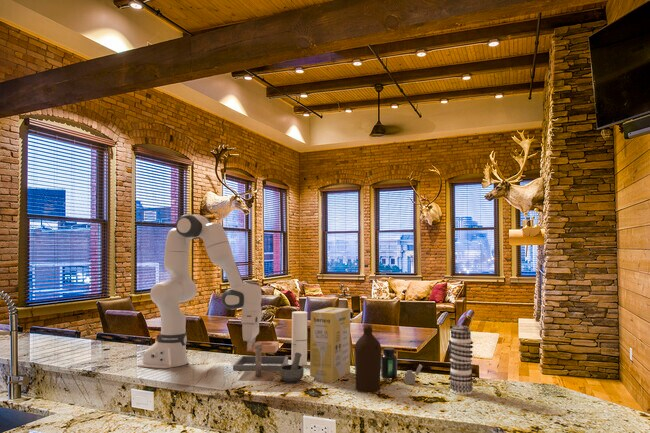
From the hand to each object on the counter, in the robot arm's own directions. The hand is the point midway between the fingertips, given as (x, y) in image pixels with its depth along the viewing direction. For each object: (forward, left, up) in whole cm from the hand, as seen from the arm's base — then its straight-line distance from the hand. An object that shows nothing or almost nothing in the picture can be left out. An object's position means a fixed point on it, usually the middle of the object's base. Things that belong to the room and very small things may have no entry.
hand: (251, 347), depth 215 cm
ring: (+5, 0, -1) cm, 5 cm away
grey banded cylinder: (+87, -29, -10) cm, 93 cm away
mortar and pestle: (+21, -24, -10) cm, 34 cm away
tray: (+5, 0, -9) cm, 11 cm away
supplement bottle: (+61, -10, -10) cm, 63 cm away
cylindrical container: (+21, +4, -10) cm, 24 cm away
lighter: (+70, -20, -10) cm, 74 cm away
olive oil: (+51, -28, -10) cm, 59 cm away
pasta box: (+36, -10, -10) cm, 39 cm away
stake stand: (+6, -18, -9) cm, 21 cm away
